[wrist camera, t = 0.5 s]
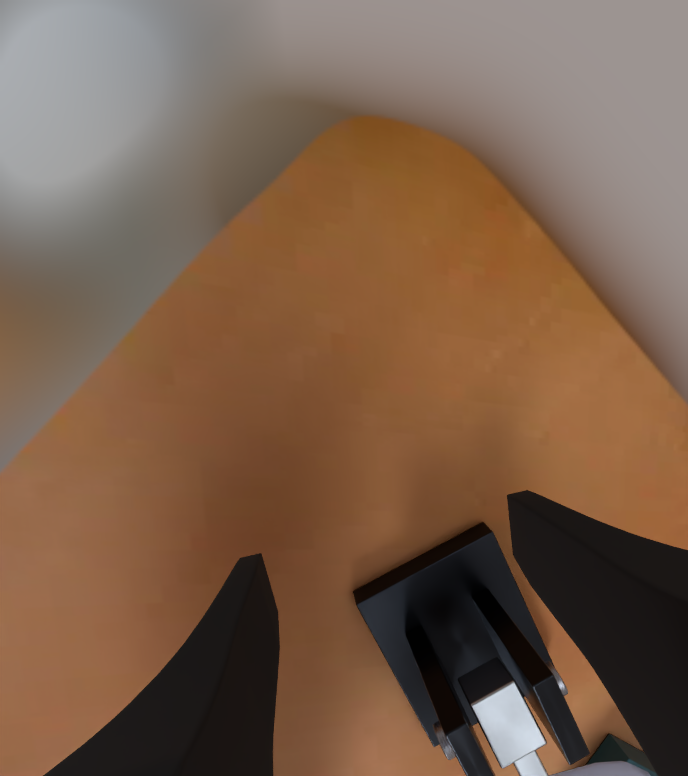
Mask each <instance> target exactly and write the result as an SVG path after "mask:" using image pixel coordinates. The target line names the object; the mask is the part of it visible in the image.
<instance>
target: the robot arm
mask: <svg viewBox="0 0 688 776" xmlns="http://www.w3.org/2000/svg"><path fill="white" fill-rule="evenodd" d="M507 500H508V510H509V520H510V530H511V540H512V550H513V556H514V557H515V559H516V561H517V563H518V564H519V566H520V568H521V570H522V572H523V573H524V575H525V577H526V578H527V580H528V582H529V583H530V585H531V586H532V588H533V589H534V590H535V592H536V593H537V594H538V596H539V597H540V598H541V600H542V601H543V602H544V604H545V605H546V606H547V608H548V609H549V610H550V612H551V613H552V614H553V615H554V617H555V618H556V619H557V621H558V622H559V623H560V625H561V626H562V627H563V628H564V630H565V631H566V632H567V634H568V635H569V636H570V638H571V639H572V640H573V641H574V643H575V644H576V645H577V647H578V648H579V649H580V651H581V652H582V653H583V655H584V656H585V657H586V659H587V660H588V662H589V663H590V665H591V666H592V667H593V669H594V670H595V672H596V674H597V675H598V677H599V678H600V680H601V681H602V683H603V685H604V686H605V688H606V689H607V691H608V693H609V694H610V696H611V697H612V699H613V701H614V702H615V704H616V705H617V707H618V709H619V710H620V712H621V714H622V715H623V717H624V719H625V720H626V722H627V724H628V725H629V727H630V729H631V730H632V732H633V734H634V735H635V737H636V739H637V740H638V742H639V744H640V745H641V747H642V749H643V751H644V752H645V754H646V756H647V758H648V759H649V761H650V763H651V765H652V766H653V768H654V770H655V772H656V773H657V775H658V776H688V550H685V549H681V548H677V547H673V546H670V545H666V544H663V543H660V542H656V541H653V540H650V539H646V538H643V537H640V536H637V535H634V534H631V533H629V532H626V531H623V530H621V529H618V528H615V527H613V526H610V525H607V524H605V523H602V522H600V521H597V520H595V519H593V518H590V517H588V516H586V515H583V514H581V513H579V512H576V511H574V510H572V509H570V508H567V507H565V506H563V505H561V504H558V503H556V502H554V501H552V500H550V499H547V498H545V497H543V496H540V495H538V494H536V493H533V492H531V491H528V490H526V491H522V492H517V493H513V494H509V495H507ZM279 650H280V644H279V620H278V610H277V606H276V603H275V599H274V596H273V592H272V589H271V585H270V582H269V578H268V575H267V571H266V568H265V564H264V561H263V557H262V554H261V553H259V554H255V555H251V556H246V557H242V558H240V559H239V560H238V562H237V563H236V565H235V566H234V568H233V570H232V571H231V573H230V575H229V576H228V578H227V580H226V581H225V583H224V585H223V586H222V588H221V590H220V591H219V593H218V595H217V596H216V598H215V599H214V601H213V602H212V604H211V606H210V607H209V609H208V610H207V612H206V613H205V615H204V616H203V618H202V619H201V621H200V622H199V623H198V625H197V626H196V628H195V629H194V630H193V632H192V633H191V635H190V636H189V637H188V639H187V640H186V642H185V643H184V644H183V645H182V647H181V648H180V649H179V650H178V652H177V653H176V654H175V655H174V656H173V658H172V659H171V660H170V661H169V662H168V663H167V665H166V666H165V667H164V668H163V669H162V670H161V671H160V673H159V674H158V675H157V676H156V677H155V678H154V679H153V680H152V681H151V682H150V683H149V684H148V685H147V686H146V687H145V688H144V689H143V690H142V691H141V692H140V693H139V694H138V695H137V696H136V697H135V698H134V699H133V700H132V702H131V703H130V704H128V705H127V706H126V707H125V708H124V709H123V710H122V711H121V712H120V713H119V714H118V715H117V716H116V717H115V718H113V719H112V720H111V721H110V722H109V723H108V724H107V725H106V726H104V727H103V728H102V729H101V730H100V731H99V732H98V733H96V734H95V735H94V736H93V737H92V738H91V739H89V740H88V741H87V742H86V743H85V744H83V745H82V746H81V747H80V748H78V749H77V750H76V751H75V752H73V753H72V754H71V755H69V756H68V757H67V758H66V759H64V760H63V761H62V762H60V763H59V764H58V765H57V766H55V767H54V768H53V769H51V770H50V771H49V772H48V773H46V774H45V775H43V776H273V731H274V718H275V705H276V692H277V679H278V665H279ZM549 776H651V775H650V774H649V772H647V771H645V770H643V769H640V768H638V767H636V766H634V765H632V764H630V763H628V762H624V761H612V762H598V763H593V764H589V765H585V766H582V767H578V768H574V769H571V770H567V771H563V772H560V773H556V774H553V775H549Z"/></svg>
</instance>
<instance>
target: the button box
mask: <svg viewBox="0 0 688 776" xmlns="http://www.w3.org/2000/svg"><path fill="white" fill-rule="evenodd" d="M612 761H624V762H628V763H630V764H632V765H634V766H636V767H638V768H640V769H643V770H645V771H647V772H649V774H650V775H651V776H658V775H657V773H656V772H655V770H654V768H653V766H652V765H651V763H650V761H649V759H648V758H647V756H646V754H645V753H644V752H642V751H640V750H638V749H637V748H635V747H633V746H631V745H629V744H627V743H626V742H624V741H622V740H620V739H618V738H616V737H615V736H613V735H611V734H609V735H608V736H607V737H606V739H605V740H604V742H603V743H602V744H601V746H600V747H599V748H598V750H597V751H596V752H595V754H594V755H593V757H592V758H591V759H590V761H589V762H588V763H587V765H589V764H593V763H598V762H612Z"/></svg>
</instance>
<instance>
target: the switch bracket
mask: <svg viewBox="0 0 688 776" xmlns="http://www.w3.org/2000/svg"><path fill="white" fill-rule="evenodd" d="M353 594H354V598H355V602H356V605H357V607H358V609H359V611H360V613H361V614H362V616H363V618H364V620H365V622H366V624H367V625H368V627H369V629H370V631H371V633H372V635H373V636H374V638H375V640H376V642H377V644H378V646H379V647H380V649H381V651H382V653H383V655H384V657H385V658H386V660H387V662H388V664H389V666H390V668H391V669H392V671H393V673H394V675H395V677H396V679H397V680H398V682H399V684H400V686H401V688H402V690H403V691H404V693H405V695H406V697H407V699H408V701H409V702H410V704H411V706H412V708H413V710H414V711H415V713H416V715H417V717H418V719H419V721H420V722H421V724H422V726H423V728H424V730H425V732H426V733H427V735H428V737H429V739H430V741H431V743H432V744H433V746H434V747H435V746H437V745H439V744H440V746H441V748H442V750H443V752H444V754H445V756H446V757H447V759H448V760H451V759H453V758H454V757H457V759H458V761H459V763H460V765H461V767H462V769H463V770H464V772H465V774H466V776H495V774H494V772H493V770H492V768H491V765H490V763H489V761H488V759H487V757H486V755H485V753H484V750H483V748H482V746H481V744H480V742H479V740H478V738H477V735H476V733H475V731H474V729H473V727H472V726H473V725H475V724H476V723H478V721H477V719H476V717H475V715H474V713H473V711H472V709H471V707H470V705H469V703H468V701H467V699H466V697H465V695H464V693H463V690H462V688H461V686H460V684H459V682H458V678H459V677H461V676H463V675H464V674H466V673H468V672H470V671H472V670H473V669H475V668H477V667H479V666H481V665H483V664H484V663H486V662H488V661H490V660H492V659H493V658H495V657H498V658H499V659H500V661H501V662H502V664H503V665H504V666H505V668H506V669H507V671H508V672H509V673H510V675H511V676H512V677H513V679H514V680H515V682H516V684H517V686H518V688H519V689H520V691H521V693H522V695H523V697H526V698H527V700H528V701H529V703H530V704H531V706H532V708H533V709H534V711H535V712H536V714H537V715H538V717H539V718H540V720H541V722H542V723H543V725H544V726H545V728H546V729H547V731H548V732H549V734H550V735H551V737H552V739H553V740H554V742H555V743H556V745H557V746H558V748H559V749H560V751H561V753H562V754H563V756H564V757H565V759H566V760H567V762H568V763H569V764H570V765H571V764H573V763H575V762H577V761H578V760H580V759H582V758H583V757H585V756H587V755H589V754H590V753H589V750H588V748H587V746H586V744H585V742H584V739H583V737H582V735H581V733H580V731H579V728H578V726H577V724H576V722H575V720H574V718H573V715H572V713H571V711H570V709H569V707H568V704H567V702H566V700H565V698H564V696H565V695H566V694H568V690H567V688H566V686H565V684H564V682H563V680H562V678H561V677H560V675H559V674H558V672H557V671H556V669H555V667H554V665H553V662H552V660H551V658H550V656H549V654H548V651H547V649H546V647H545V645H544V643H543V641H542V638H541V636H540V634H539V632H538V630H537V627H536V625H535V623H534V621H533V619H532V616H531V614H530V612H529V610H528V608H527V605H526V603H525V601H524V599H523V597H522V595H521V592H520V590H519V588H518V586H517V584H516V581H515V579H514V577H513V575H512V573H511V570H510V568H509V566H508V564H507V562H506V560H505V557H504V555H503V553H502V551H501V549H500V546H499V544H498V542H497V540H496V538H495V535H494V533H493V531H492V530H491V529H490V528H489V527H488V526H487V525H486V524H485V523H484V522H482V523H480V524H479V525H477V526H475V527H473V528H471V529H469V530H467V531H465V532H464V533H462V534H460V535H458V536H456V537H454V538H452V539H451V540H449V541H447V542H445V543H443V544H441V545H439V546H437V547H436V548H434V549H432V550H430V551H428V552H426V553H424V554H422V555H421V556H419V557H417V558H415V559H413V560H411V561H409V562H408V563H406V564H404V565H402V566H400V567H398V568H396V569H394V570H393V571H391V572H389V573H387V574H385V575H383V576H381V577H379V578H378V579H376V580H374V581H372V582H370V583H368V584H366V585H365V586H363V587H361V588H359V589H357V590H355V591H353Z"/></svg>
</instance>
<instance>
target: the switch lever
mask: <svg viewBox="0 0 688 776" xmlns="http://www.w3.org/2000/svg"><path fill="white" fill-rule="evenodd" d="M458 682H459V684H460V686H461V688H462V690H463V693H464V695H465V697H466V699H467V701H468V703H469V705H470V707H471V709H472V711H473V713H474V715H475V717H476V719H477V721H478V723H479V725H480V727H481V729H482V731H483V733H484V735H485V737H486V739H487V741H488V743H489V745H490V747H491V749H492V751H493V753H494V755H495V757H496V759H497V761H498V763H499V765H500V766H501V767H502V768H505V767H507V766H508V765H510V764H512V763H513V764H514V766H515V768H516V770H517V772H518V774H519V775H520V776H548V774H547V772H546V770H545V768H544V766H543V764H542V762H541V760H540V758H539V756H538V754H537V752H536V750H537V749H538V748H540V747H542V746H544V745H545V744H546V743H547V742H546V739H545V737H544V735H543V733H542V732H541V730H540V728H539V726H538V724H537V722H536V720H535V718H534V716H533V714H532V712H531V711H530V709H529V707H528V705H527V703H526V701H525V699H524V697H523V695H522V693H521V691H520V689H519V688H518V686H517V684H516V682H515V680H514V679H513V677H512V676H511V675H510V673H509V672H508V671H507V669H506V668H505V666H504V665H503V664H502V662H501V661H500V659H499V658H498V657H495V658H493V659H492V660H490V661H488V662H486V663H484V664H483V665H481V666H479V667H477V668H475V669H473V670H472V671H470V672H468V673H466V674H464V675H463V676H461V677H459V678H458Z"/></svg>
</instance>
